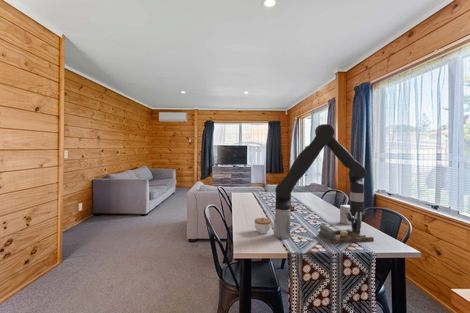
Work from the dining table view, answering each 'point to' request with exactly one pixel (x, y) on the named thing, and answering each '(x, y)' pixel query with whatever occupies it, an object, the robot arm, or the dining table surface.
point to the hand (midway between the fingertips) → (356, 228)
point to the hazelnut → (343, 234)
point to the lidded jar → (262, 225)
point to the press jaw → (356, 230)
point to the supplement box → (342, 214)
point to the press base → (335, 236)
